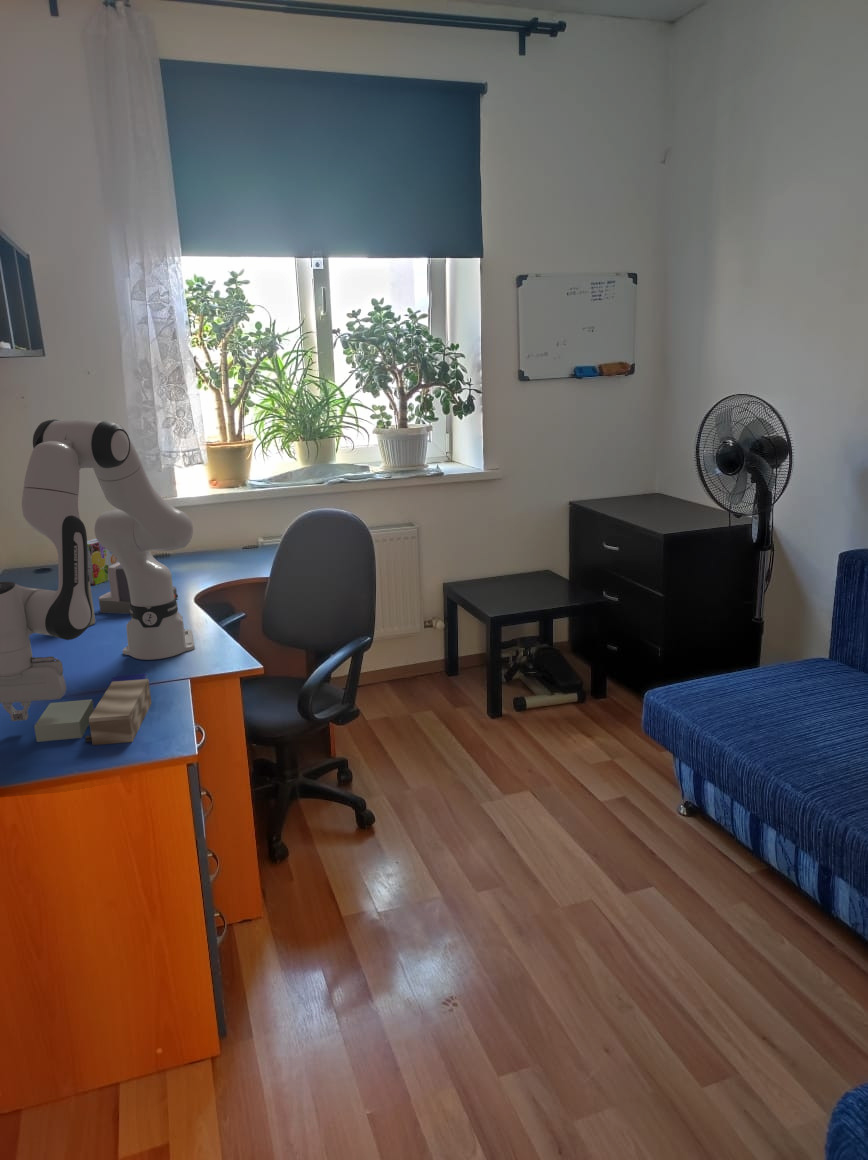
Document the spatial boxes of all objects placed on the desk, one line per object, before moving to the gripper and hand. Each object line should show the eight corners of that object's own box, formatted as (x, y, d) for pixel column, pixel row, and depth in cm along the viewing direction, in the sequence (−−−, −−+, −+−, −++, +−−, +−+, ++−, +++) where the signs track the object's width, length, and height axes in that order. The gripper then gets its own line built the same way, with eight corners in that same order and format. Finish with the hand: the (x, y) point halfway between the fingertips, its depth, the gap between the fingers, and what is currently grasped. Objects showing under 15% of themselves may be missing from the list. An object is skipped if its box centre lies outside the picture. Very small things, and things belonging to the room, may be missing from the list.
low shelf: (106, 706, 194) (103, 682, 193) (151, 703, 195) (148, 678, 194) (82, 745, 175) (78, 719, 173) (132, 741, 176) (128, 715, 174)
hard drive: (141, 691, 200) (146, 672, 211) (105, 695, 198) (111, 676, 209) (142, 697, 200) (147, 678, 212) (105, 701, 198) (112, 682, 210)
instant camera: (135, 593, 286) (130, 550, 282) (187, 598, 279) (182, 553, 275) (91, 612, 266) (84, 566, 262) (146, 617, 259) (140, 570, 255)
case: (52, 719, 189) (50, 703, 188) (94, 715, 190) (92, 699, 189) (37, 743, 178) (34, 725, 177) (82, 739, 179) (79, 721, 178)
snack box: (129, 569, 317) (123, 530, 313) (140, 570, 315) (135, 531, 311) (84, 584, 299) (78, 542, 295) (95, 585, 297) (89, 543, 293)
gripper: (65, 650, 183) (74, 709, 186) (-35, 657, 180) (-24, 717, 184) (56, 661, 177) (66, 721, 180) (-48, 668, 174) (-36, 729, 178)
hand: (20, 719), depth 182 cm, fingers closed
